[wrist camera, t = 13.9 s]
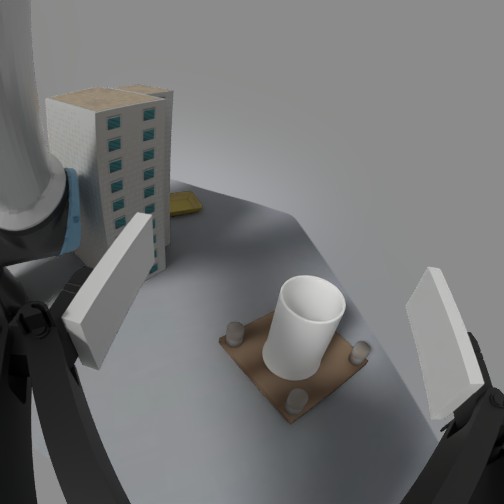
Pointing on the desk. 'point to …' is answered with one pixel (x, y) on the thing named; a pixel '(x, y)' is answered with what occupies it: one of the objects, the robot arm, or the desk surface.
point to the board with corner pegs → (288, 391)
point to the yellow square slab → (183, 203)
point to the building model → (116, 161)
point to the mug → (302, 326)
